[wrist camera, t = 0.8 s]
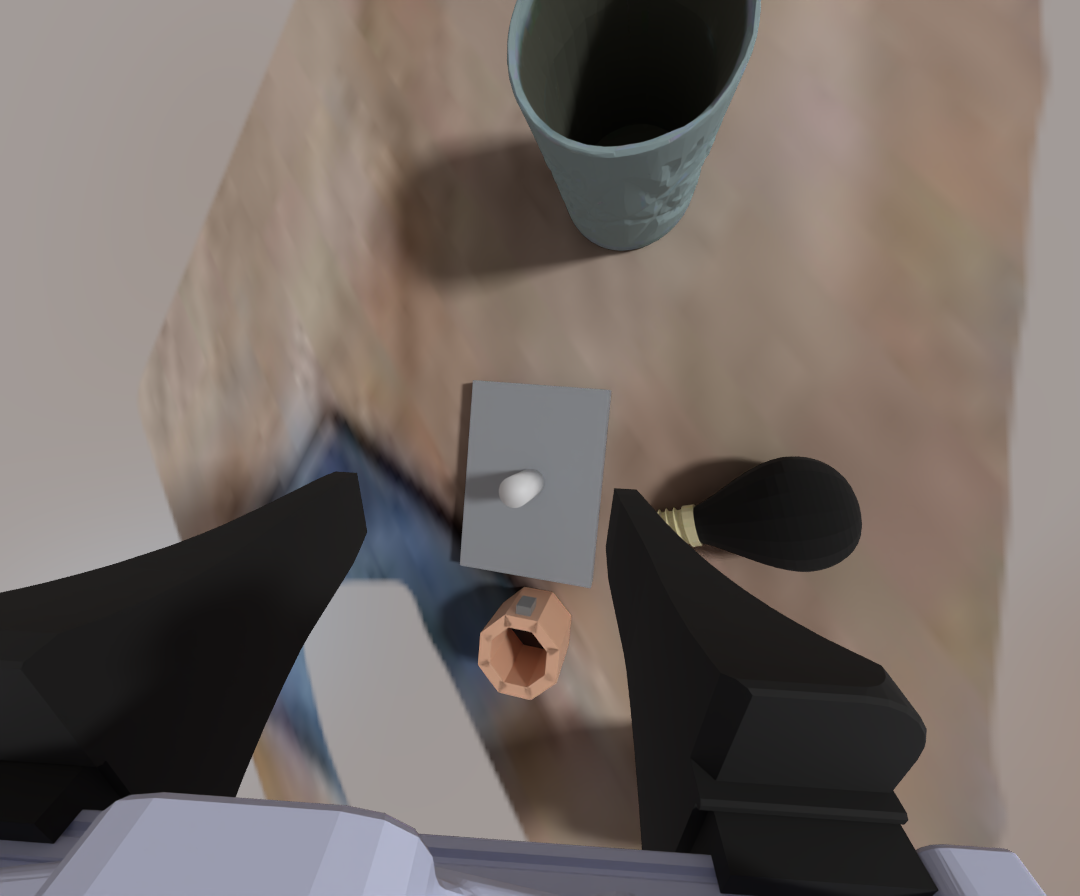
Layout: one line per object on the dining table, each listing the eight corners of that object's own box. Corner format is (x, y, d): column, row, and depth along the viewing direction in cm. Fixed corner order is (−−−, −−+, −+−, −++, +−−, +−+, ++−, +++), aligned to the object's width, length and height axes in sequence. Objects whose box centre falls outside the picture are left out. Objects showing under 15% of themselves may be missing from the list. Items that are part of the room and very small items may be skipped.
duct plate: (592, 581, 31) (582, 614, 26) (466, 560, 33) (433, 586, 28) (611, 391, 30) (605, 385, 25) (479, 381, 32) (447, 374, 27)
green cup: (530, 198, 30) (461, 61, 19) (632, 73, 28) (626, -168, 17) (631, 292, 29) (626, 208, 18) (746, 169, 27) (825, -19, 16)
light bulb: (632, 568, 25) (885, 548, 19) (627, 466, 28) (841, 425, 23) (665, 591, 30) (873, 580, 24) (657, 502, 33) (839, 475, 28)
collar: (566, 664, 32) (554, 705, 27) (499, 649, 33) (476, 686, 29) (574, 587, 32) (562, 617, 27) (505, 575, 33) (482, 601, 28)
